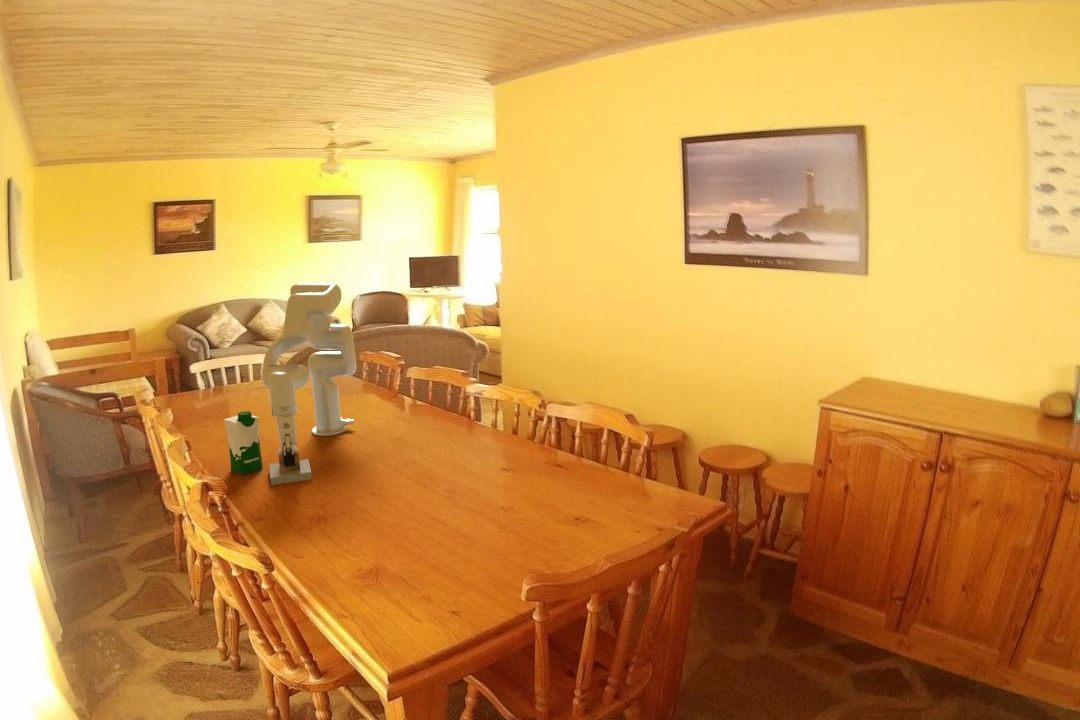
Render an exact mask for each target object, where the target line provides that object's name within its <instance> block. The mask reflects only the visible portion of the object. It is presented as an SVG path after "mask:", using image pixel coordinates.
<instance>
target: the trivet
mask: <svg viewBox="0 0 1080 720" xmlns="http://www.w3.org/2000/svg"><path fill="white" fill-rule="evenodd" d="M299 461H300V470H297V471H291V472H284V473H280V466H279V462H278V463H272V464H269V478H270V486H271V485H272V486H277V484H279V485H284V484H283V483H285V484H290V483H291V484H292V483H296V482H304V481H309V480H310V479H311V480H313V479H312V478H313V477H312V469H311V466H310V462H309V461H310V460H309V459H308V458H306V459H299Z"/></svg>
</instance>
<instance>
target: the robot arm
mask: <svg viewBox="0 0 1080 720" xmlns="http://www.w3.org/2000/svg"><path fill="white" fill-rule="evenodd" d="M289 293H290V296H289V297H288V299H287V302H286V309H285V315H284V321H283V327H282V334H281V335H280V336H279V337H277V339H275V341H273V343H272V344H271V345H270V346H269V348H268V349H267V351H266V352H265V354H264V358H263V365H262V369H261V380H262V384H263V386H266V387H267V388H268V389H269V399H270V407H271V408H270V410H271V416H272V417H274V418H276V426H277V434H278V438H279V444H280V447H282V448H284V455H283V456H284V466H285V467H291V466H295V456H294V453H293V447H294V446H297V445H298V436H297V425H296V419H295V418H296V417H295V416H296V414H297V413H298V406H297V405H298V404H297V403H298V402H297V395H296V390H298V389H302V388H303V387H305V386H306V385H307V384H308V383H309V381H311V387H312V396H313V407H314V408H313V409H314V420H315V426H314V427H313V428H312V429H311V434H312V435H315V436H319V437H331V436H336V435H340V434H343V433H344V432H346V430H347V427H346V426H351V425H355V421H354V419H350V418H347V419H344V418H343V417H342V414H341V413H342V411H341V402H340V401H341V399H340V388H339V384H338V382H337V381H336V380H335V378H334V377H351V376H353V375H354V374H355V373H356V371H357V357H356V349H355V340H354V334H353V330H352V328H351V327H350V325H347V324H346V323H345V324H344V323H334V324H333V323H332V322H331V316H332V314H333V313H334V312H335V310H336V309H337V308H338V307H339V305H340V303H341V301H342V290H341V288H340V286H339V285H338V284H337V283H334V282H299V283H295V284H293V285H291V287H290V289H289ZM306 342H309V346H310V347H311V348H313V349H314V350H323V351H316V352H313V353H311V354H310V355H309V356H308V359H307V367H306V366H305V365H303V364H277V362H278V360H279V359H280V357H281V356H282V355H284V353H286V352H288V351H290V350H292V349H295V348H296V347H298V346H300V345H301V346H302V345H304V344H305V343H306ZM325 350H326V351H325ZM327 350H330V351H327ZM331 350H332V351H331ZM333 350H338V351H333ZM310 379H311V380H310ZM285 448H286V450H285Z"/></svg>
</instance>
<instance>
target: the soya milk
mask: <svg viewBox="0 0 1080 720" xmlns="http://www.w3.org/2000/svg"><path fill="white" fill-rule="evenodd" d="M259 419H260V418H259V417H258V416H255V415H252V412H251V411H246V410H244V411H240V412H238V413H237V415H235V416H231V417H228V418H224V419H223V422H224V425H225V429H226V434H227V440H228V441H227V442H228V449H229V458H230V459H229V460H230V471H232V472H234V473H236V474H238V473H239V474H238V475H241V476H246V475H248V473H249V474H251V472H252V473H253V472H254V471H255V472H257V471H260V470H263V469H264V468H263V458H262V452H261V443H260V442H261V441H260V433H259V423H260V422H259V421H260V420H259ZM262 468H263V469H262ZM259 469H260V470H259ZM255 472H254V473H255Z"/></svg>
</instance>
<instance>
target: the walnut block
mask: <svg viewBox="0 0 1080 720" xmlns="http://www.w3.org/2000/svg"><path fill="white" fill-rule="evenodd" d="M285 450H286V448H285ZM293 453H294V456H295V466H291V467H285V466H284V456H283V455H284V448H277V455H278V463H279V466H280V473H284V472H291V471H297V470H300V461H299V460H300V452H299V448H298V446H297V445H295V446H293Z"/></svg>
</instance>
